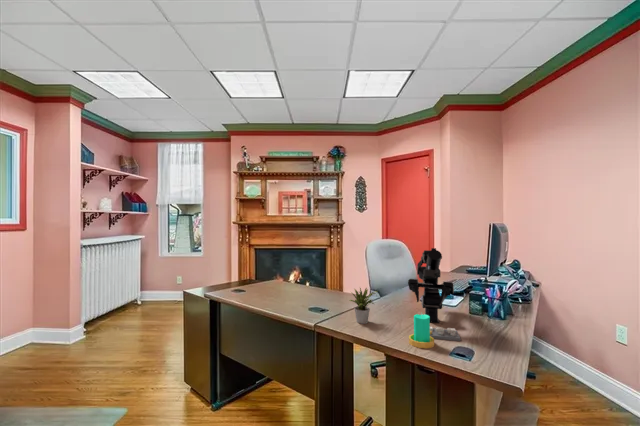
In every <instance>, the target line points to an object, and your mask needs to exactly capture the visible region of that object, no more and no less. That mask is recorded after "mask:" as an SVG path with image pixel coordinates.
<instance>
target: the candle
mask: <svg viewBox="0 0 640 426" xmlns="http://www.w3.org/2000/svg"><path fill="white" fill-rule="evenodd" d="M430 323H431V322H430V316H428V315H425V313H424V314H423V312H422V311H421V312H420V314H419V313H417V314H414V315H413V334H414V341H418V342H430V327H431V325H430Z"/></svg>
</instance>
